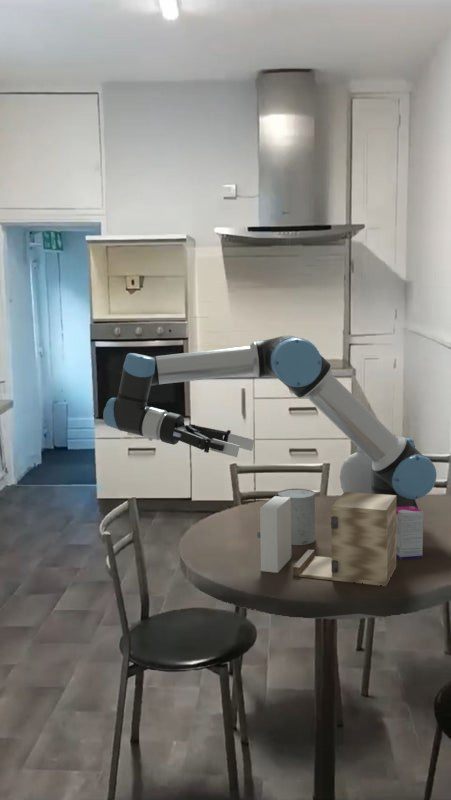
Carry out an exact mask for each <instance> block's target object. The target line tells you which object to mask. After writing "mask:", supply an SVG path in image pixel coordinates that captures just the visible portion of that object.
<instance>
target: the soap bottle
mask: <svg viewBox="0 0 451 800" xmlns="http://www.w3.org/2000/svg"><path fill="white" fill-rule="evenodd" d="M339 482H340V488H341V491H342V494H343V493H344V492H355V493H369V494H371V459H370V458H369V457H368V456H367V455H366V454H365V453H364V452H363V451H362V450H361V449H359V448H358V447H357V446H356V452H354V453H352V454H350V455H348V457H346V458H345V460H343V463H342V465H341V467H340V474H339Z"/></svg>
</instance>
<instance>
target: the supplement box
mask: <svg viewBox="0 0 451 800" xmlns="http://www.w3.org/2000/svg"><path fill="white" fill-rule="evenodd" d="M423 541H424V511H423V510H421V509H420V508H419V509H418V508H416V507H415V506H406V507H396V558H398V559H399V560H409V559H421V558H423V546H424V545H423V543H424V542H423Z"/></svg>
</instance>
